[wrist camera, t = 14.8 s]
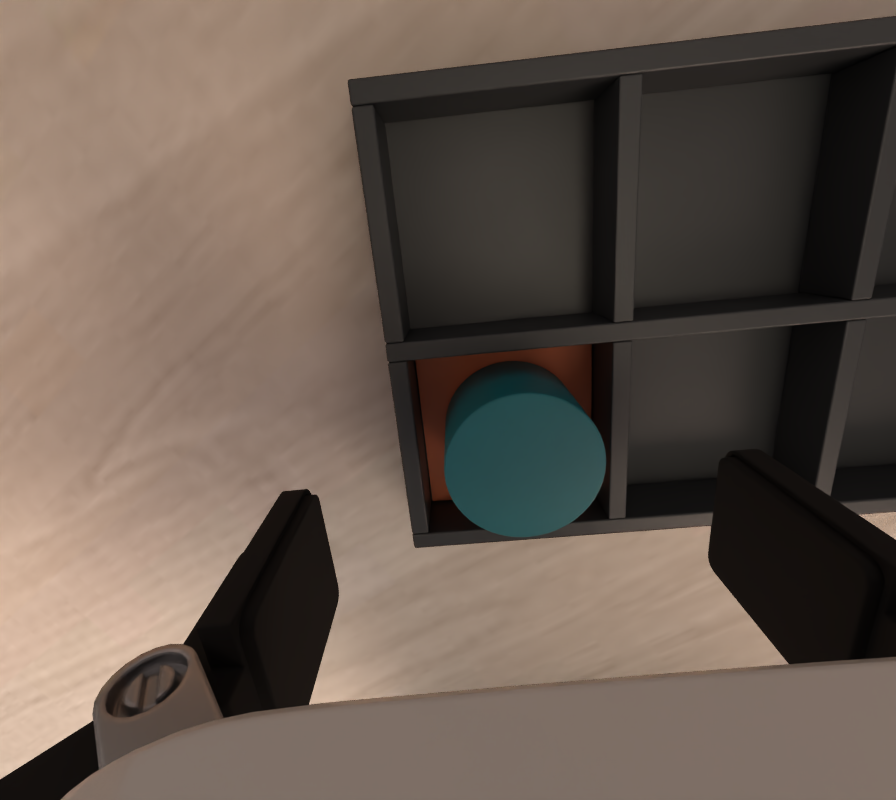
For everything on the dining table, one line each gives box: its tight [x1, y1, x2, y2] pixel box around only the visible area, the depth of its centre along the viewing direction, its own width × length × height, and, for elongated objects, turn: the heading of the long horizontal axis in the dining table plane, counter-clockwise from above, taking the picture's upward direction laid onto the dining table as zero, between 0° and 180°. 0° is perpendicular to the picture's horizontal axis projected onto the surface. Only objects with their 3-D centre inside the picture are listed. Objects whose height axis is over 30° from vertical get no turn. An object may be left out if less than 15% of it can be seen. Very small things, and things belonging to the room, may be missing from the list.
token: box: [444, 361, 606, 537], centre depth 15 cm, size 5×5×4 cm
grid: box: [348, 16, 896, 548], centre depth 15 cm, size 14×21×3 cm
